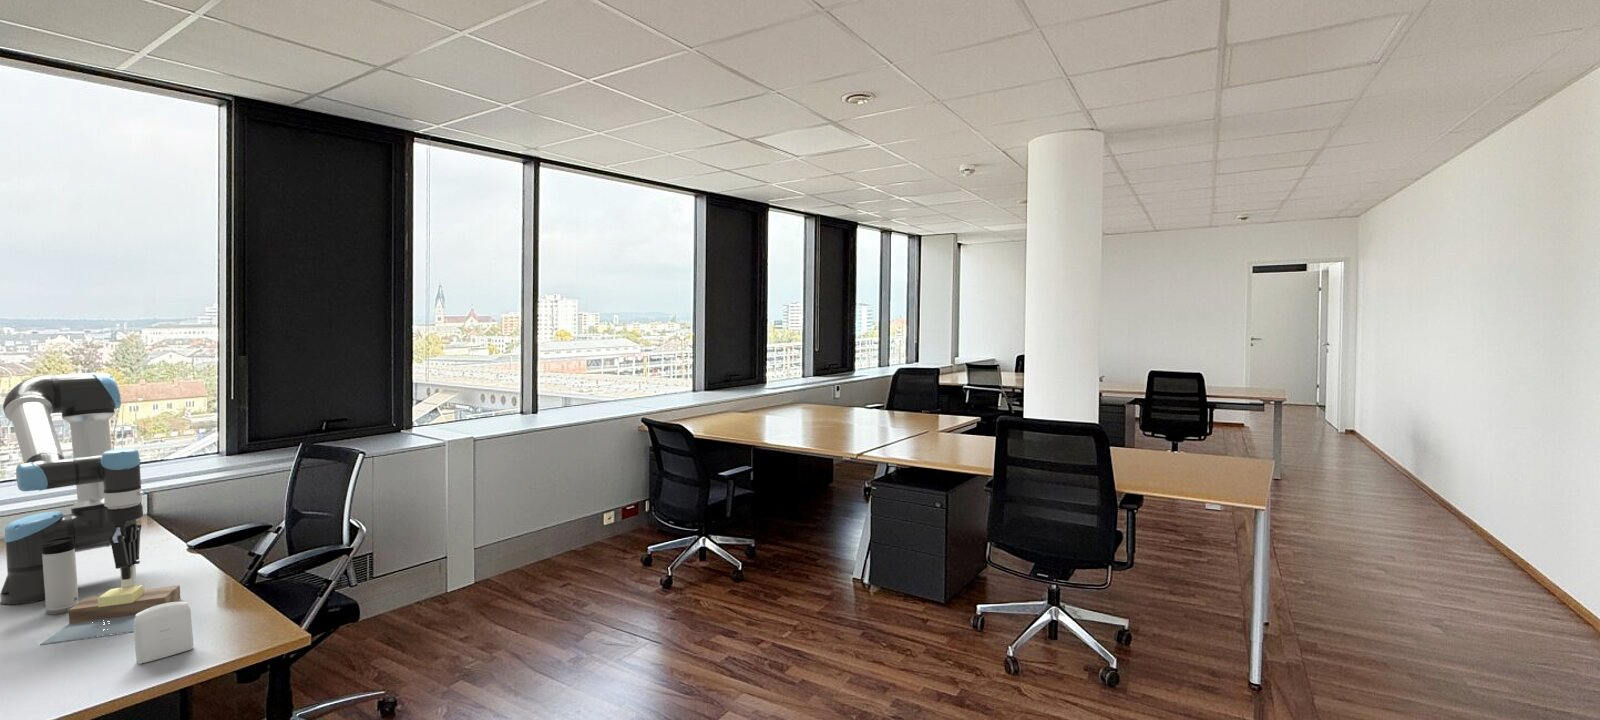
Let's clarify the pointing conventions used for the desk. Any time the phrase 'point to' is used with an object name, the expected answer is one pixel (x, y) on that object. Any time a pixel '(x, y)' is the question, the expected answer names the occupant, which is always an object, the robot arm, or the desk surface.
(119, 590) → the note pad
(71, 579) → the travel mug
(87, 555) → the desk surface
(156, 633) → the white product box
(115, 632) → the rubber mat
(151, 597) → the brown wooden block
